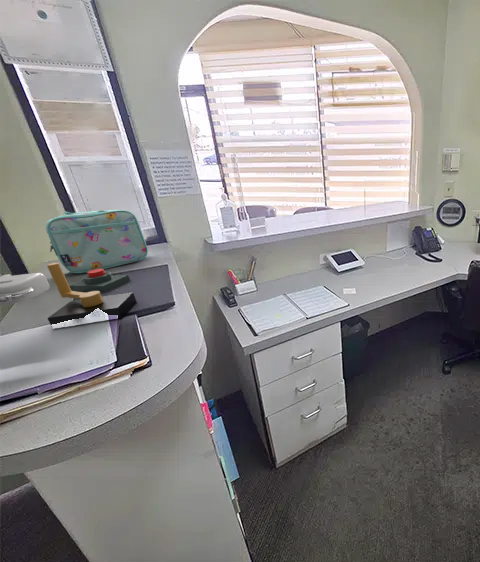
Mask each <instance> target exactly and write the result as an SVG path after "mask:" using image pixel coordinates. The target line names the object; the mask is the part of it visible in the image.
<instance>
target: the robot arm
mask: <svg viewBox="0 0 480 562" xmlns="http://www.w3.org/2000/svg"><path fill="white" fill-rule="evenodd" d="M49 290H50V284H49V281H48V279H47V277H46V276H45V274H43V273H42V272H33V273H23V274H15V275H11V274H10V273H9V274H0V307H1V306H8V305H14V304H19V303H23V302H26V301H29V300H31V299H33V298H35V297H37V296H40V295H42V294H43V293H45V292H47V291H49Z"/></svg>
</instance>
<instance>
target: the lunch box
mask: <svg viewBox="0 0 480 562" xmlns="http://www.w3.org/2000/svg"><path fill="white" fill-rule="evenodd" d="M45 230H46V233H47V235H48V238H49V244H50V247H49V253H52V251H54V254H55V256H56V257H57V259H58V260H59V263H60V264H61V265H62V266H63V267H64V268H65V269H66V270H67V271H68V272H70V273H72V274H85V273H87V272H88V271H91V270H95V269H104V270H106V269H110V268H116V267H119V266H123V265H127V264H131V263H135V262H138V261H141V260H143V259H145V258H146V257H147V256H148V254H149V249H148V245H147V242H146V240H145V235H144V234H143V231H142V228H141V225H140V222H139V220H138V218H137V216H136V215H135V214H134V213H133V212H131V211H129V210H126V209H109V210H108V209H107V210H93V211H79V212H69V211H64V214H60V215H58V216H55V217H52V218H50V219H48V220H47V221H46V224H45Z"/></svg>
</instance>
